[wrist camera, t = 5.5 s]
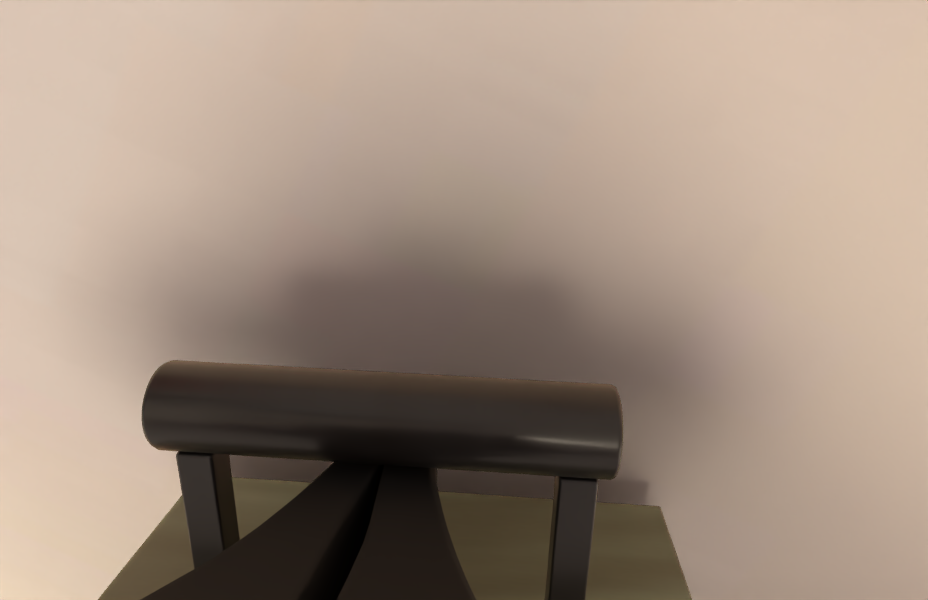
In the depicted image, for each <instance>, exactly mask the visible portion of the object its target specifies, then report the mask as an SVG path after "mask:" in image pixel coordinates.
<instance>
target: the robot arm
mask: <svg viewBox="0 0 928 600" xmlns="http://www.w3.org/2000/svg"><path fill="white" fill-rule="evenodd" d="M140 600H476V598H475V596H474V594H473V592H472V590H471V588H470V586H469V584H468V581H467V579H466V577H465V574H464V572H463V570H462V567H461V565H460V562H459V560H458V557H457V554H456V552H455V549H454V546H453V543H452V540H451V537H450V534H449V531H448V528H447V525H446V521H445V517H444V514H443V510H442V505H441V501H440V497H439V492H438V487H437V468H424V467H409V466H393V465H378V464H363V463H348V462H334V463H333V464H331V465H330V466H329V467H328V468H327V469H326V470H325V471H324V472H323V473H322V474H321V475H320V476H318V477H317V478H316V479H315V480H314V481H313V482H312V483H311V484H309V485H308V486H307V487H306V488H305V489H304V490H303V491H302V492H300V493H299V494H298V495H297V496H296V497H295V498H294V499H292V500H291V501H290V502H289V503H287V504H286V505H285V506H284V507H282V508H281V509H280V510H279V511H277V512H276V513H275V514H274V515H272V516H271V517H270V518H269V519H267V520H266V521H265V522H264V523H262V524H261V525H260V526H259V527H257V528H256V529H254V530H253V531H252V532H250V533H249V534H247V535H246V536H245V537H243V538H242V539H240V540H239V541H238V542H236V543H235V544H233V545H231V546H230V547H228V548H227V549H225V550H224V551H222V552H221V553H219V554H218V555H216V556H215V557H213V558H212V559H210V560H209V561H207V562H205V563H204V564H202V565H200V566H199V567H197V568H195V569H194V570H192V571H190V572H188V573H186V574H185V575H183V576H181V577H179V578H178V579H176V580H174V581H172V582H171V583H169V584H167V585H165V586H164V587H162V588H160V589H158V590H156V591H155V592H153V593H151V594H149V595H148V596H146V597H144V598H142V599H140Z"/></svg>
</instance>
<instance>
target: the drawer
mask: <svg viewBox="0 0 928 600" xmlns="http://www.w3.org/2000/svg"><path fill="white" fill-rule="evenodd" d="M142 426H143V431H144V434H145V437H146V439H147V441H148V442H149V443H150V444H151V445H152V446H153V447H155V448H157V449H159V450H166V451H179V452H178V453H177V455H176V458H177V465H178V471H179V477H180V483H181V490H182V496H181V497H180V499H179V500H178V501H177V502H176V504H175V505H174V506H173V507H172V508H171V510H170V511H169V512H168V513H167V515H166V516H165V517H164V518H163V520H162V521H161V522H160V523H159V525H158V526H157V527H156V528H155V530H154V531H153V532H152V533H151V534H150V536H149V537H148V538H147V539H146V541H145V542H144V543H143V544H142V546H141V547H140V548H139V549H138V551H137V552H136V553H135V554H134V555H133V557H132V558H131V559H130V560H129V562H128V563H127V564H126V565H125V567H124V568H123V569H122V570H121V572H120V573H119V574H118V575H117V577H116V578H115V579H114V580H113V581H112V583H111V584H110V585H109V586H108V588H107V589H106V590H105V591H104V593H103V594H102V595H101V596H100V598H99V599H98V600H140V599H142V598H144V597H146V596H148V595H149V594H151V593H153V592H155V591H156V590H158V589H160V588H162V587H164V586H165V585H167V584H169V583H171V582H172V581H174V580H176V579H178V578H179V577H181V576H183V575H185V574H186V573H188V572H190V571H192V570H194V569H195V568H197V567H199V566H200V565H202V564H204V563H205V562H207V561H209V560H210V559H212V558H213V557H215V556H216V555H218V554H219V553H221V552H222V551H224V550H225V549H227V548H228V547H230V546H231V545H233V544H235V543H236V542H238V541H239V540H240V539H242V538H243V537H245V536H246V535H247V534H249V533H250V532H252V531H253V530H254V529H256V528H257V527H259V526H260V525H261V524H262V523H264V522H265V521H266V520H267V519H269V518H270V517H271V516H272V515H274V514H275V513H276V512H277V511H279V510H280V509H281V508H282V507H284V506H285V505H286V504H287V503H289V502H290V501H291V500H292V499H294V498H295V497H296V496H297V495H298V494H299V493H300V492H302V491H303V490H304V489H305V488H306V487H307V486H308V485H309V484H311V483H310V482H295V481H281V480H266V479H252V478H237V477H232V473H231V465H230V457H229V455H242V456H257V457H272V458H287V459H303V460H318V461H333V462H348V463H363V464H378V465H393V466H409V467H424V468H439V469H454V470H469V471H484V472H499V473H515V474H530V475H545V476H555V484H554V496H553V499H544V498H529V497H514V496H500V495H485V494H471V493H456V492H441V491H438V492H439V497H440V501H441V505H442V510H443V514H444V517H445V521H446V525H447V528H448V531H449V534H450V537H451V540H452V543H453V546H454V549H455V552H456V554H457V557H458V560H459V562H460V565H461V567H462V570H463V572H464V574H465V577H466V579H467V581H468V584H469V586H470V588H471V590H472V592H473V594H474V596H475V598H476V600H692V598H691V595H690V592H689V589H688V586H687V583H686V580H685V578H684V575H683V572H682V569H681V566H680V563H679V560H678V557H677V554H676V551H675V548H674V546H673V543H672V540H671V537H670V534H669V531H668V528H667V525H666V522H665V519H664V516H663V513H662V511H661V508H660V507H659V506H646V505H631V504H617V503H602V502H597V493H598V485H599V482H598V479H606V480H611V479H613V478H615V477H616V475H617V473H618V470H619V467H620V462H621V456H622V446H623V415H622V405H621V400H620V396H619V393H618V390H617V388H616V387H615V386H613V385H610V384H592V383H574V382H556V381H538V380H520V379H502V378H484V377H466V376H448V375H430V374H412V373H394V372H377V371H359V370H341V369H323V368H305V367H287V366H269V365H251V364H233V363H215V362H197V361H179V360H173V361H169V362H167V363H164V364H163V365H161V366H160V367H159V368H158V369H157V370H156V372H155V373H154V374H153V376H152V378H151V379H150V381H149V384H148V386H147V389H146V392H145V395H144V399H143V405H142Z"/></svg>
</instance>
